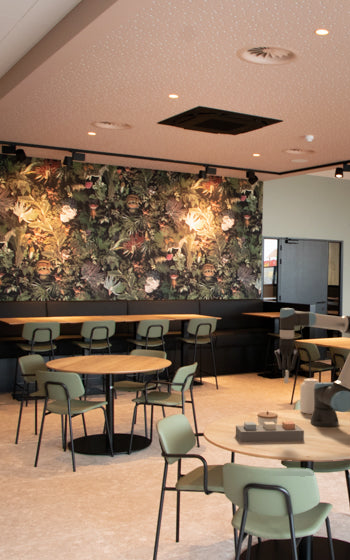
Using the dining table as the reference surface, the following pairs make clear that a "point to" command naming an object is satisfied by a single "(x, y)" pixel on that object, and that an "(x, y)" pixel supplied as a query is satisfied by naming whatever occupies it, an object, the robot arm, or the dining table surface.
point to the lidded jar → (267, 417)
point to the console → (269, 434)
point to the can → (307, 395)
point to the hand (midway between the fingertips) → (286, 382)
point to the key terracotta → (288, 425)
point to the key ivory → (269, 425)
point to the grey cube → (249, 426)
